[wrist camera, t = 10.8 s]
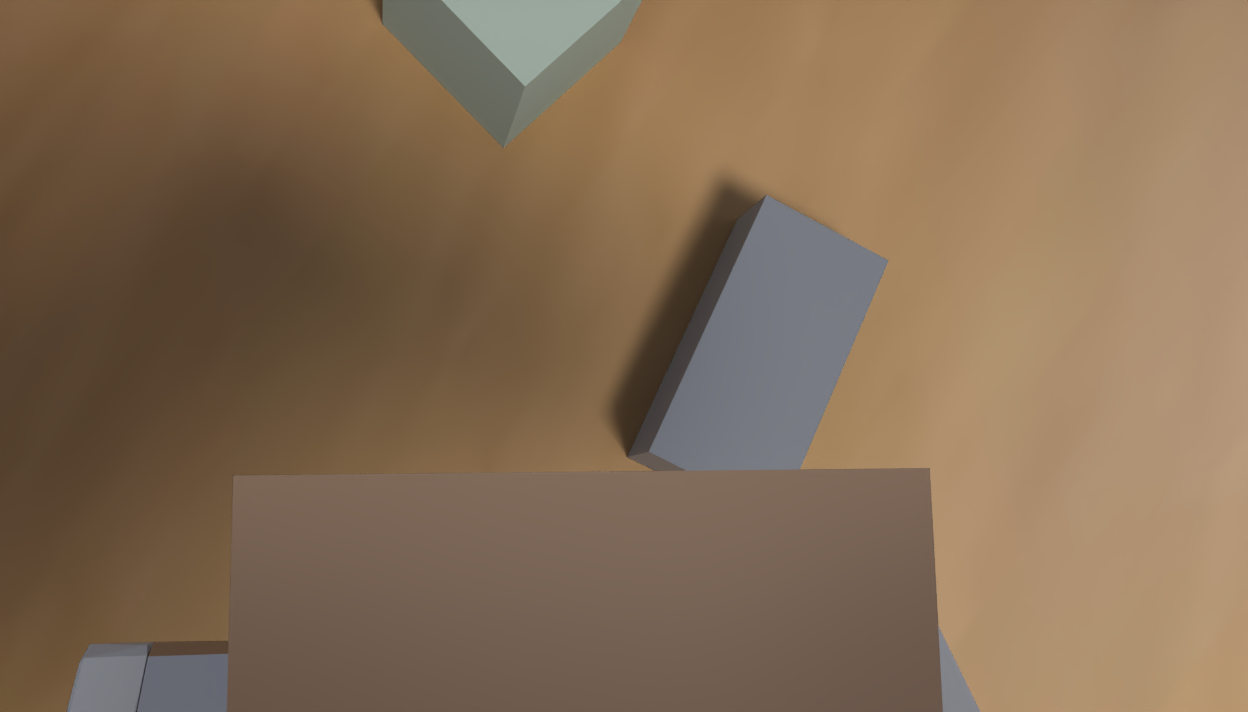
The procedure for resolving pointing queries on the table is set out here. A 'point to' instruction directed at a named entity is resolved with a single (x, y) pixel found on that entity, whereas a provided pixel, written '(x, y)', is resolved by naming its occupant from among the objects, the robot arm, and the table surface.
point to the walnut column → (584, 592)
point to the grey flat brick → (761, 347)
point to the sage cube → (508, 50)
